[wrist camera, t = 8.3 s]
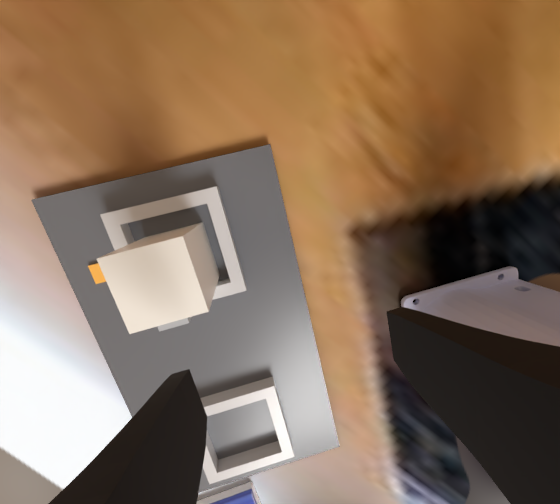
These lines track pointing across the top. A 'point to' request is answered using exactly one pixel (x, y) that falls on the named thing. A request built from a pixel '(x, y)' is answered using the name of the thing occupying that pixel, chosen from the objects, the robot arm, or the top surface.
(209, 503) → the hard drive
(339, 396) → the top surface
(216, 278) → the plug
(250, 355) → the port panel
